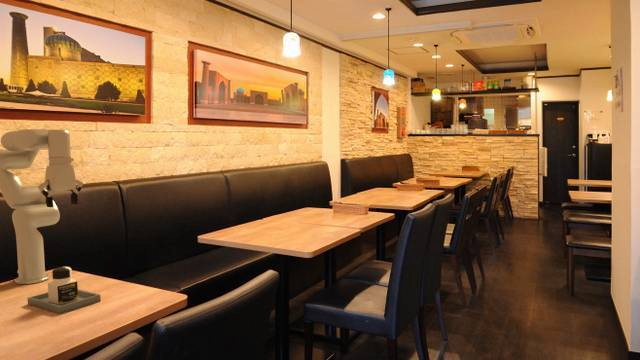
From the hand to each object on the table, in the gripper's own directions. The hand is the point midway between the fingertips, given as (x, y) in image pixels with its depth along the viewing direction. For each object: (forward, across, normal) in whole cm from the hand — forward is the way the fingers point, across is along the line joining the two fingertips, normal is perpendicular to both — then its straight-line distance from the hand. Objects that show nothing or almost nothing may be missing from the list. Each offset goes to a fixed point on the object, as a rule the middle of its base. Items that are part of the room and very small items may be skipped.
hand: (62, 205), depth 184 cm
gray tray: (+33, +10, +15) cm, 38 cm away
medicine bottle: (+33, +10, +15) cm, 37 cm away
